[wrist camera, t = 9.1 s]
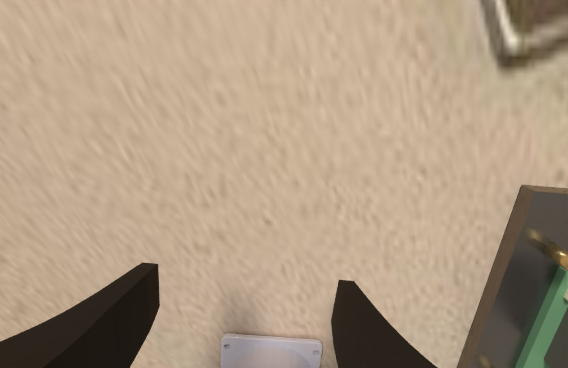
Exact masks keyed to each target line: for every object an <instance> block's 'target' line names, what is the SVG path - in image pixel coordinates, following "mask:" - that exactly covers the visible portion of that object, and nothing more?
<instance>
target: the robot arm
mask: <svg viewBox="0 0 568 368" xmlns="http://www.w3.org/2000/svg"><path fill="white" fill-rule="evenodd" d="M159 306H160V304H159V277H158V264H152V263H141V264H139V265H138V266H136V267H135V268H133V269H132V270H130V271H129V272H127V273H126V274H124V275H123V276H121V277H120V278H118V279H117V280H115V281H114V282H112V283H111V284H109V285H108V286H106V287H105V288H103V289H102V290H100V291H99V292H97V293H95V294H94V295H92V296H90V297H89V298H87V299H85V300H84V301H82V302H80V303H79V304H77V305H75V306H74V307H72V308H70V309H68V310H67V311H65V312H63V313H61V314H59V315H57V316H55V317H53V318H51V319H49V320H47V321H45V322H43V323H41V324H39V325H37V326H35V327H33V328H31V329H28V330H26V331H24V332H21V333H19V334H17V335H15V336H12V337H10V338H8V339H6V340H3V341H1V342H0V368H130V366H131V364H132V363H133V361H134V359H135V357H136V355H137V354H138V352H139V350H140V348H141V346H142V344H143V343H144V341H145V339H146V337H147V335H148V333H149V331H150V329H151V327H152V324H153V322H154V319H155V317H156V314H157V312H158V309H159ZM331 324H332V335H333V344H334V350H335V354H336V359H337V363H338V368H437V367H436V366H435V365H433V364H432V363H431V362H430V361H428V360H427V359H426V358H425V357H424V356H423V355H421V354H420V353H419V352H418V351H417V350H416V349H415V348H414V347H413V346H411V345H410V344H409V343H408V342H407V341H406V340H405V339H404V338H403V337H402V336H401V335H400V334H399V333H398V332H397V331H396V330H395V329H394V328H393V327H392V326H391V325H390V324H389V323H388V321H387V320H386V319H385V318H384V317H383V316H382V315H381V314H380V312H379V311H378V310H377V309H376V308H375V307H374V305H373V304H372V303H371V302H370V300H369V299H368V298H367V297H366V296H365V294H364V293H363V292H362V291H361V289H360V288H359V287H358V286H357V284H356V283H355V282H354V281H346V280H339V282H338V287H337V292H336V298H335V303H334V308H333V313H332V319H331ZM226 344H229V345H226ZM322 349H323V346H322V342H321V341H320V340H316V339H302V338H287V337H273V336H259V335H244V334H230V333H227V334H224V335H223V336H222V339H221V365H220V368H320V362H321V356H322ZM315 350H317V351H315Z"/></svg>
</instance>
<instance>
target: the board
mask: <svg viewBox="0 0 568 368" xmlns="http://www.w3.org/2000/svg"><path fill="white" fill-rule="evenodd" d="M515 368H568V271H567V270H565V269H564V268H562V267H558V270H557V272H556V274H555V276H554V279H553V281H552V283H551V286H550V288H549V290H548V293H547V295H546V297H545V299H544V302H543V304H542V306H541V309H540V311H539V313H538V316H537V318H536V320H535V322H534V325H533V327H532V329H531V332H530V334H529V336H528V339H527V341H526V343H525V345H524V348H523V350H522V352H521V355H520V357H519V359H518V362H517V364H516V366H515Z"/></svg>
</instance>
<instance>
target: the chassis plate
mask: <svg viewBox="0 0 568 368" xmlns="http://www.w3.org/2000/svg"><path fill="white" fill-rule="evenodd" d="M558 267H562V268H564V269H565V270H567V271H568V189H566V188H554V187H542V186H530V185H522V186H521V188H520V191H519V194H518V197H517V200H516V202H515V205H514V208H513V211H512V214H511V217H510V219H509V222H508V225H507V228H506V231H505V234H504V236H503V239H502V242H501V245H500V248H499V250H498V253H497V256H496V259H495V262H494V265H493V267H492V270H491V273H490V276H489V279H488V281H487V284H486V287H485V290H484V293H483V296H482V298H481V301H480V304H479V307H478V310H477V313H476V315H475V318H474V321H473V324H472V327H471V329H470V332H469V335H468V338H467V341H466V344H465V346H464V349H463V352H462V355H461V358H460V360H459V363H458V366H457V368H515V366H516V364H517V362H518V359H519V357H520V355H521V352H522V350H523V348H524V345H525V343H526V341H527V339H528V336H529V334H530V332H531V329H532V327H533V325H534V322H535V320H536V318H537V316H538V313H539V311H540V309H541V306H542V304H543V302H544V299H545V297H546V295H547V293H548V290H549V288H550V286H551V283H552V281H553V279H554V276H555V274H556V272H557V270H558Z"/></svg>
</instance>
